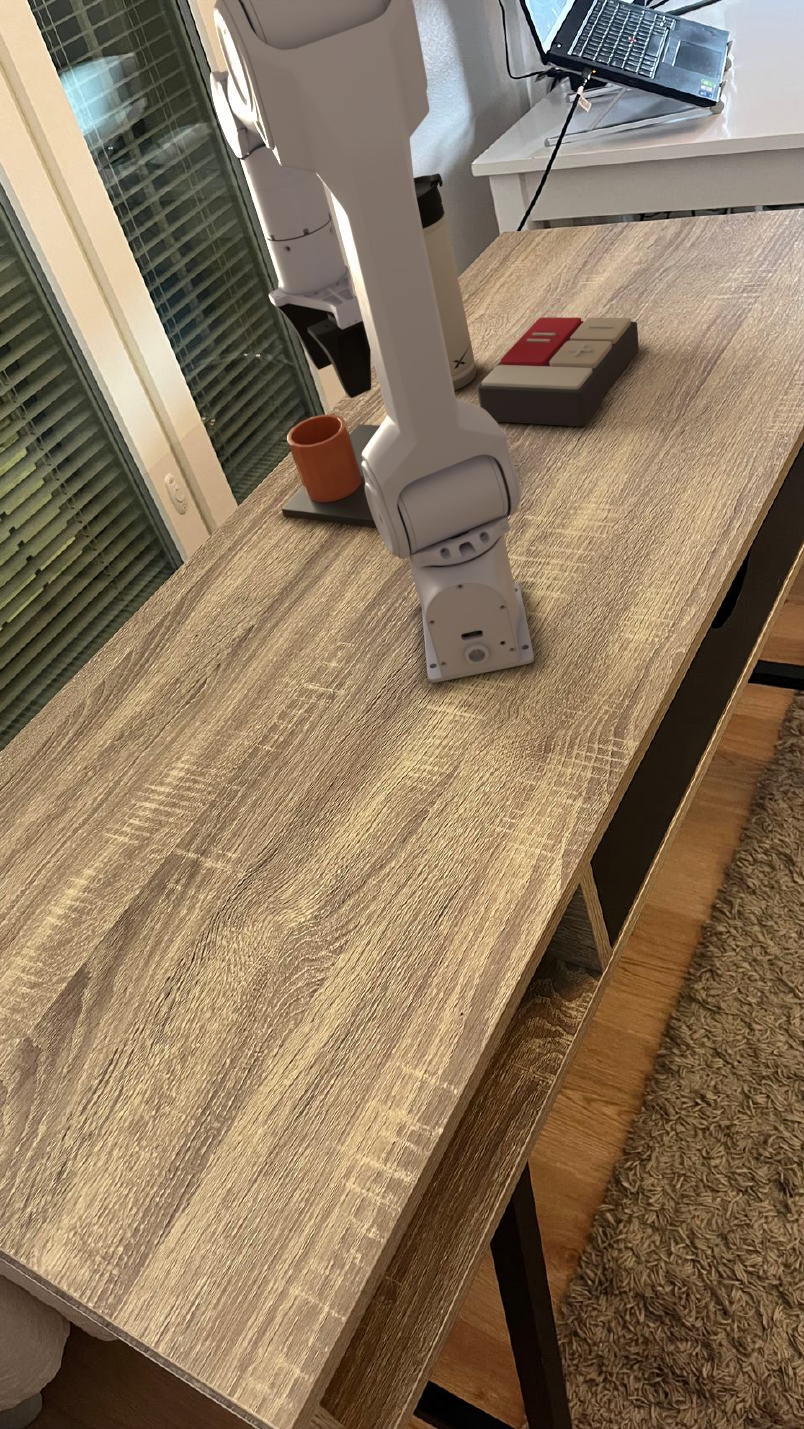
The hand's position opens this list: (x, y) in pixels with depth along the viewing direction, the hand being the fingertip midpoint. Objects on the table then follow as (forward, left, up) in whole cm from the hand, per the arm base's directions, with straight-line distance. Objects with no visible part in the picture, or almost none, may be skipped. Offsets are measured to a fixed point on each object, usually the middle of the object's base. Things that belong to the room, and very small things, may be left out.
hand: (343, 378), depth 97 cm
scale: (0, 0, -10) cm, 10 cm away
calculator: (+9, -20, -11) cm, 24 cm away
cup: (-2, +3, -10) cm, 10 cm away
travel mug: (+16, -9, -11) cm, 21 cm away
